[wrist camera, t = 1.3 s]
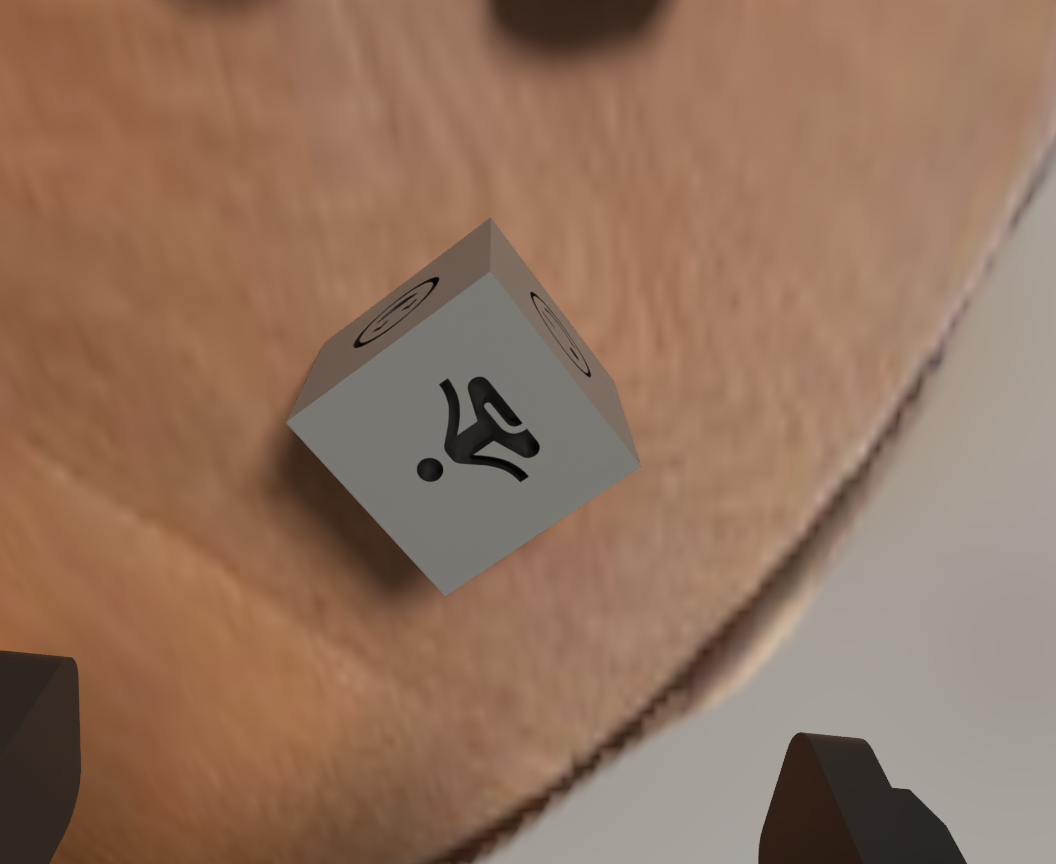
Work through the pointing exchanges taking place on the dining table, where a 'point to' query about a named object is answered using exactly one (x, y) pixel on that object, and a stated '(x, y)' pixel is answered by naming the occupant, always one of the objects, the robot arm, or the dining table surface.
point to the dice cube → (465, 411)
